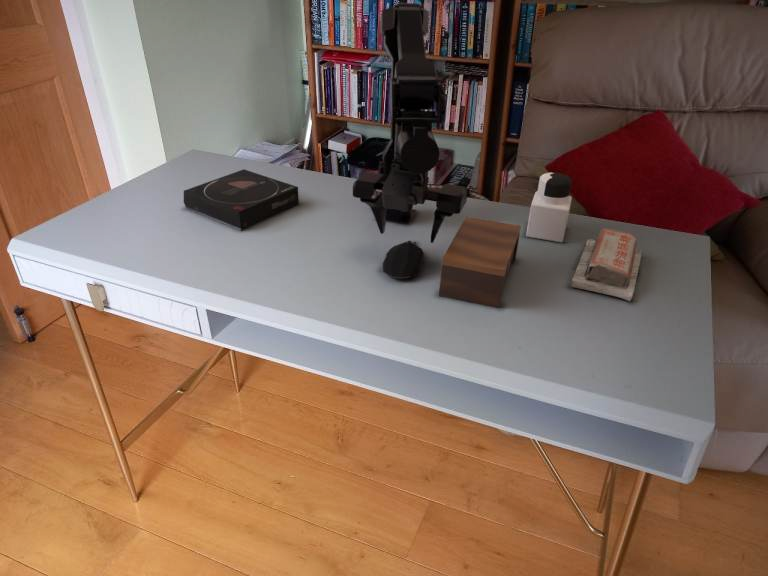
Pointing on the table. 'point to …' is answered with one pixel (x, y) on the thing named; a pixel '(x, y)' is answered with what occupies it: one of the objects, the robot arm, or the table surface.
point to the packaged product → (609, 265)
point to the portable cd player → (241, 198)
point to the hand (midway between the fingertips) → (407, 237)
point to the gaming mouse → (403, 260)
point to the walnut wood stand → (479, 261)
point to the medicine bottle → (550, 208)
